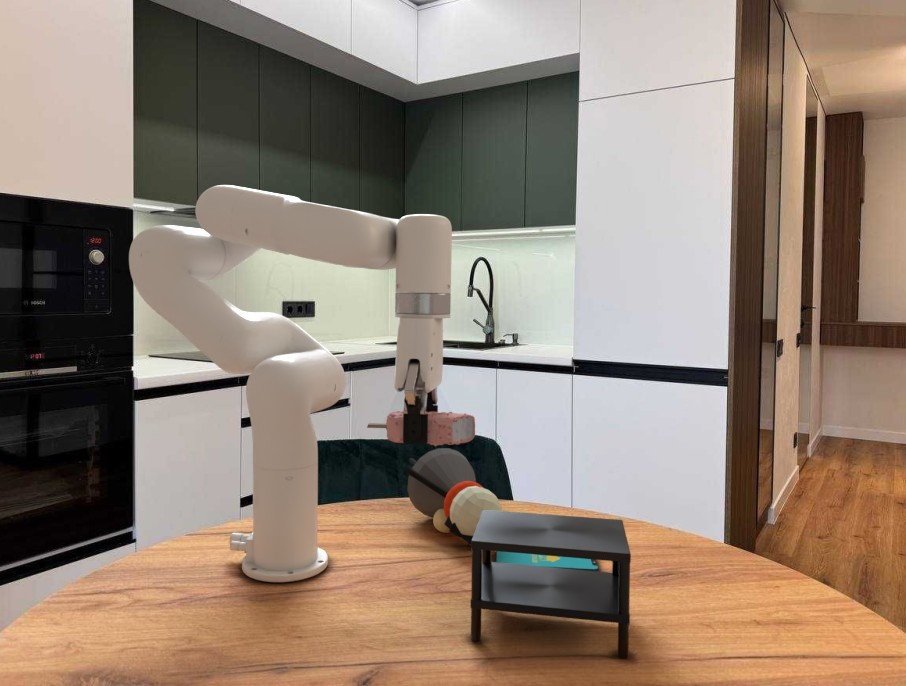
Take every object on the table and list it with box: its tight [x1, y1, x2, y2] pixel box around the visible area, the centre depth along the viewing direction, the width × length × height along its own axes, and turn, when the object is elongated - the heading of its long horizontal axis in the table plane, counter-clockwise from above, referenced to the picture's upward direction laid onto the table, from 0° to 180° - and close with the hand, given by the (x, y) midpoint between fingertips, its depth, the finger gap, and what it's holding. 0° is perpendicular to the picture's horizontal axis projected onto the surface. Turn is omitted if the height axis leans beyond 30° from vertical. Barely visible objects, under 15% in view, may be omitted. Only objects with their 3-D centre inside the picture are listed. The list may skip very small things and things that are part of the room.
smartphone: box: [495, 551, 600, 572], centre depth 106 cm, size 7×1×15 cm
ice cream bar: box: [366, 410, 476, 447], centre depth 94 cm, size 6×4×15 cm
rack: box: [470, 510, 632, 660], centre depth 86 cm, size 18×12×12 cm, turn 78°
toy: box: [406, 447, 503, 546], centre depth 122 cm, size 17×13×30 cm
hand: (420, 437), depth 95 cm, fingers closed on ice cream bar, 6 cm apart
